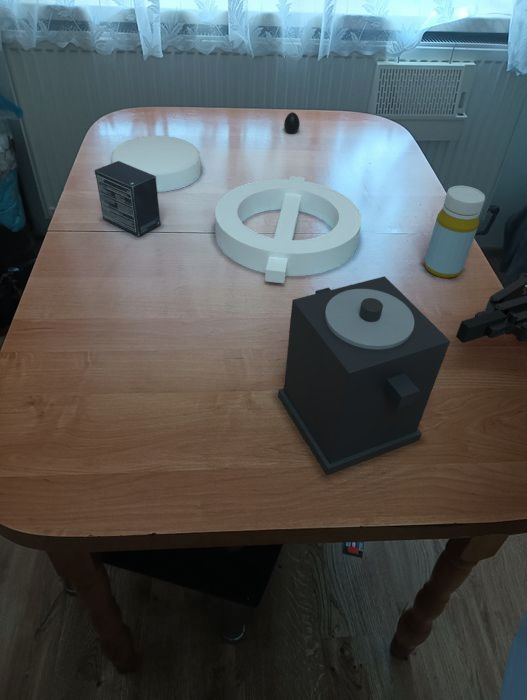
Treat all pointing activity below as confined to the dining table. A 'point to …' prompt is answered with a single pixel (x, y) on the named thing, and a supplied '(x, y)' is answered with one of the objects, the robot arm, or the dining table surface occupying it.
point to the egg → (291, 123)
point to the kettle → (359, 371)
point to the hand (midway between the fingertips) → (462, 332)
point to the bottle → (454, 231)
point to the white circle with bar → (287, 227)
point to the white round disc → (162, 160)
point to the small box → (128, 197)
